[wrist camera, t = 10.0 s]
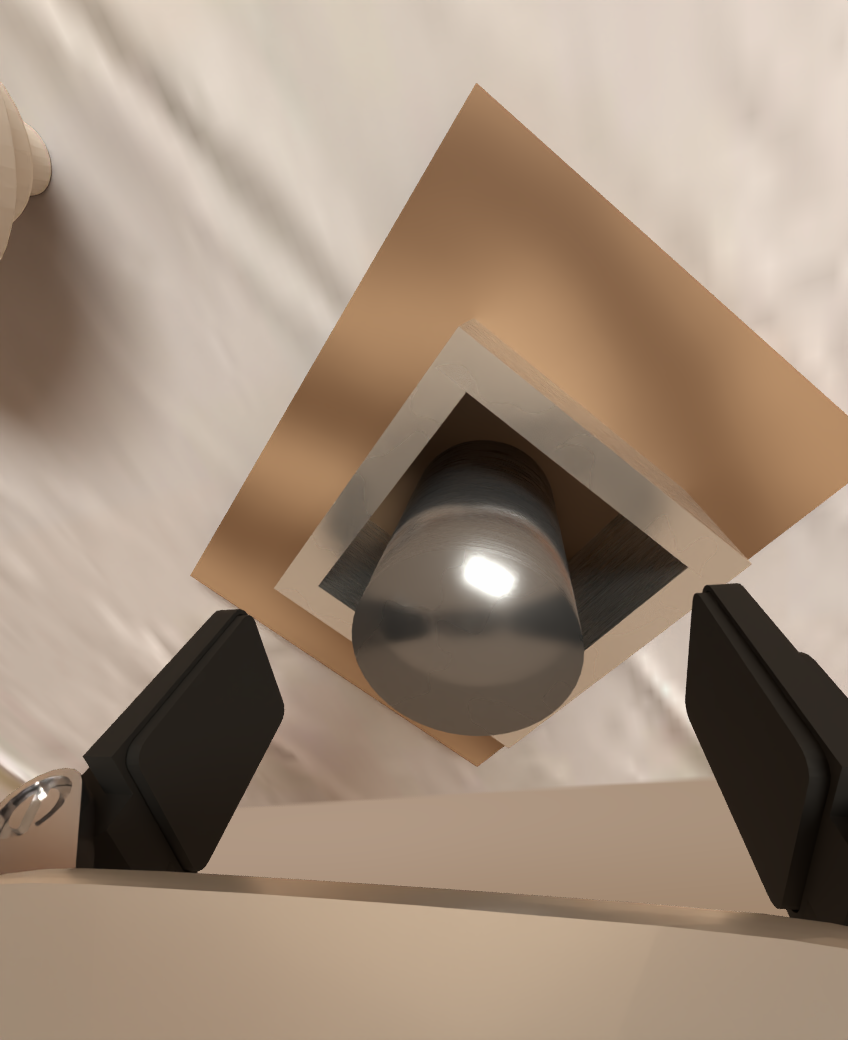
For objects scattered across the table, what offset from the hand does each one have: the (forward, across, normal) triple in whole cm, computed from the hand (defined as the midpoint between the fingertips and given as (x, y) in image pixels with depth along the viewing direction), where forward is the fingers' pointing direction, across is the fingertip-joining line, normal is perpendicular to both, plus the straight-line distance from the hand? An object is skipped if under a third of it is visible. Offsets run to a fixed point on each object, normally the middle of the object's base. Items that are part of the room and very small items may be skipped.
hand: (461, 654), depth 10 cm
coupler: (+8, 0, 0) cm, 8 cm away
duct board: (+10, 0, +1) cm, 10 cm away
